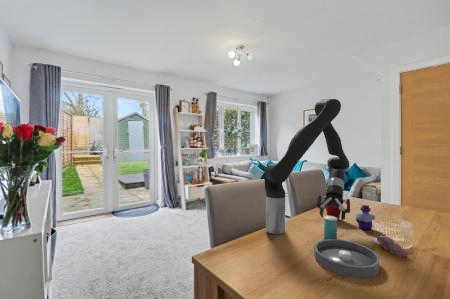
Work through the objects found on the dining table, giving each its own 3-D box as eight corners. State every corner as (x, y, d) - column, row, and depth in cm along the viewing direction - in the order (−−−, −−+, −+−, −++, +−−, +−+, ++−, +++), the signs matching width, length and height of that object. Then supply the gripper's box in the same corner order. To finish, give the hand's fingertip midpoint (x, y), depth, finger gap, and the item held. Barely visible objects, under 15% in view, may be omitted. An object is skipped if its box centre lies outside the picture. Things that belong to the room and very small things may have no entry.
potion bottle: (354, 224, 118) (354, 202, 118) (374, 227, 114) (374, 204, 114) (355, 230, 110) (356, 206, 110) (376, 233, 106) (377, 208, 106)
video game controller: (379, 249, 94) (372, 235, 93) (388, 244, 94) (381, 230, 94) (399, 262, 84) (392, 246, 84) (410, 256, 84) (402, 240, 84)
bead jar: (325, 241, 98) (325, 219, 98) (322, 236, 103) (322, 215, 103) (338, 243, 97) (338, 220, 96) (335, 237, 102) (335, 216, 102)
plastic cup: (323, 220, 124) (323, 199, 123) (322, 214, 134) (322, 195, 133) (345, 223, 120) (345, 201, 119) (342, 217, 130) (343, 196, 129)
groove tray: (320, 273, 74) (320, 263, 74) (310, 245, 95) (310, 237, 95) (391, 282, 70) (391, 271, 70) (365, 250, 90) (365, 241, 90)
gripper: (319, 182, 114) (314, 211, 104) (351, 185, 106) (349, 216, 97) (320, 191, 118) (316, 219, 109) (351, 194, 111) (349, 224, 101)
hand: (331, 217), depth 103 cm, fingers open, 8 cm apart
